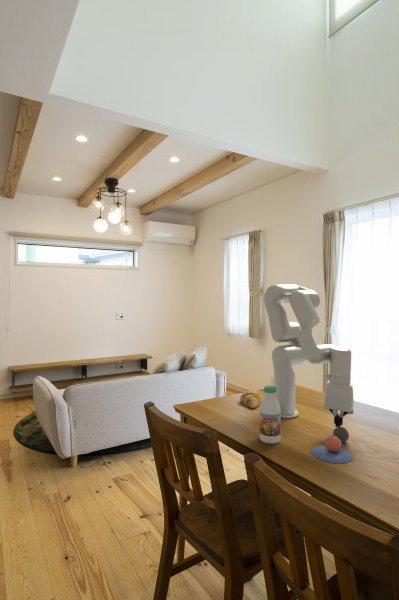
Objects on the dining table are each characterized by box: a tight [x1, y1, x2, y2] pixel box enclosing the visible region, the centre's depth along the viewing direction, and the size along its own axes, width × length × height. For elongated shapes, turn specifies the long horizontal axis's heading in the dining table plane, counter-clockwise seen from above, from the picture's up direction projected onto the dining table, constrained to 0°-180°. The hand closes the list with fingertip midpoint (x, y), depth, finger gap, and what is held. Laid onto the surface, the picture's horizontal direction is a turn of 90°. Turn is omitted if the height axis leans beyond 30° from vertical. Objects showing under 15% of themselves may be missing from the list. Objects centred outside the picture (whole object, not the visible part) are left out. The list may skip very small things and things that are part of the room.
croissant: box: [239, 389, 262, 409], centre depth 177 cm, size 21×10×8 cm, turn 2°
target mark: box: [311, 445, 353, 465], centre depth 119 cm, size 13×13×1 cm
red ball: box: [324, 434, 342, 452], centre depth 121 cm, size 6×6×6 cm
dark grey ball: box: [332, 426, 350, 444], centre depth 129 cm, size 6×6×6 cm
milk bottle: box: [259, 385, 282, 445], centre depth 131 cm, size 8×8×20 cm
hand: (338, 426), depth 135 cm, fingers closed
